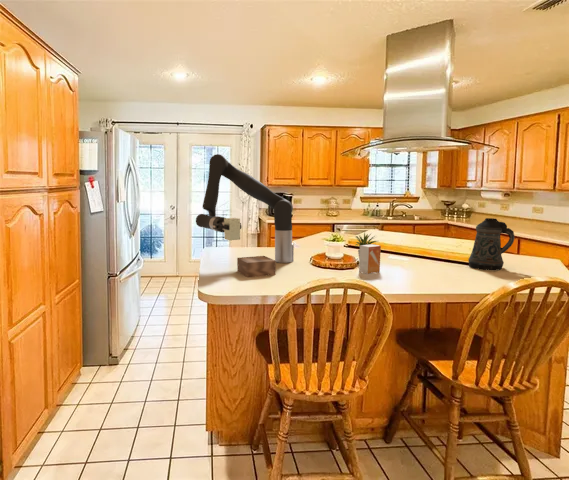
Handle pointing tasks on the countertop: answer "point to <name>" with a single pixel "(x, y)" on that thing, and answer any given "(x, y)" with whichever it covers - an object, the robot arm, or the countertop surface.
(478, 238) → the beer stein
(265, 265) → the walnut block
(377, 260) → the small box
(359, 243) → the house plant
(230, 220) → the sage tea tin
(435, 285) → the countertop surface
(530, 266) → the countertop surface
